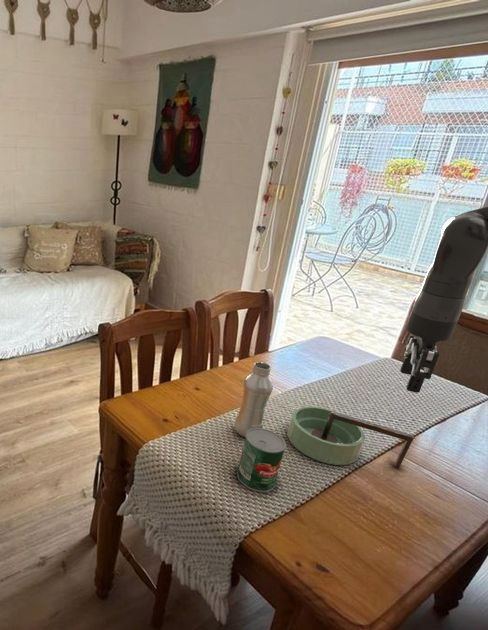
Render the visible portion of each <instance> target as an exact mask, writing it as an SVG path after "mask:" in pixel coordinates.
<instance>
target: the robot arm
mask: <svg viewBox="0 0 488 630" xmlns="http://www.w3.org/2000/svg"><path fill="white" fill-rule="evenodd" d="M440 234H441V235H440V239H439V243H438V246H437V249H436V251H435V255H434V258H433V262H432V264H431V265H430V267H429V268H428V270H427V272H426V275H425V276H424V280H423V282H422V286H421V289H420V291H419V293H418V294H417V296H416V298H415V300H414V303H413V306H412V309H411V312H410V314H409V317H408V320H407V323H406V326H405V330H406V331H407V332H408V333H409V334H408V337H407V340H406V342H405V346H404V347H403V351H404V353H403V356H404V358H403V361H402V364H401V367H400V370H399V371H400V373H401V374H403V375H409V379H408V381H407V384H406V387H405V388H406V391H408V392H411V393H415V394H416V393H417V394H418V393H420V391H421V390H422V387H423V384H424V382H425V380H431V378H432V375H433V373H434V369H435V367H436V364H437V362H438V359H439V357H440V352H439V351H438V347H437V343H439V342H447V341H450V340H451V338H452V336H453V334H454V331H455V328H456V326H457V324H458V321H459V319H460V316H461V314H462V312H463V310H464V306H465V301H466V297H467V296H468V293H469V290H470V288H471V285H472V282H473V279H474V276H475V272H476V270H477V269H478V267H479V266H480V264H481V262H482V260H483V258H484V256H485V254H486V252H487V251H488V206H484V207H480V208H476V209H471V210H468V211H465V212H462V213H459V214H457V215H454V216H451V218H449V219H448V220H447V221H446V222H445V223H444V224H443V226H442V228H441V233H440ZM422 368H423V371H422Z"/></svg>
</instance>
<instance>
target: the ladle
mask: <svg viewBox="0 0 488 630" xmlns="http://www.w3.org/2000/svg"><path fill="white" fill-rule="evenodd" d="M337 412H338V411H336V412H331V413H330V415H329V418H328V420H327V423H326V426H325V428H324V430H322V429H315V430H313V431H312V433H311V434H312V435H313V436H316V437H318V438H320V439H322V440H325V441H329V442H332V443H337V438H336V437H335V436H334V435H333V434H332V433H330V429H331V426H332V424H333V421H334V419H336V420H339V421H343V422H346V423H349V424H353V425H356V426H359V427H361V428H362V429H366V430H370V431H373V432H376V433H379V434H383V435H385V436H386V435H387V436H390V437H393V438H396V439H400V440H403V441H404V443H403V444H402V447H401V449H400V451H399V454H398V455H397V458H396V460H395V462H394V468H396V469H400V468H401V465H402V463H403V461H404V459H405V457H406V455H407V454H408V452H409V449H410V447H411V444H412V443H413V441H414V434H411V433H408V432H405V431H401V430H397V429H395V428H391V427H387V426H384V425H381V424H377V423H375V422H371V421H367V420H364V419H360V418H357V417H353V416H350V415H347V414H343V413H341V412H338V413H337ZM340 413H341V414H340Z"/></svg>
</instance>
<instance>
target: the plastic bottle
mask: <svg viewBox="0 0 488 630" xmlns="http://www.w3.org/2000/svg"><path fill="white" fill-rule="evenodd" d="M271 367H272V366H271V365H270V364H268V363H266V362H262V361H256V362H254V364H253V368H252V372H251V373H249V375H247V376H246V377H245V378H244V381H243V391H242V392H243V393H242V400H241V404H240V408H239V410H238V413H237V415H236V416H235V417H236V418H235V419H234V429H235V431H236V432H237V434H238V435H240V436H241V437H243V438H246V433H247V431H249V430H250V429H254V428H262V429H264V415H265V410H266V407H267V404H268V401H269V399H270V397H271V395H272V392H273V391H274V384H273V382H272V379H271V378H270V375H271V370H272V369H271Z"/></svg>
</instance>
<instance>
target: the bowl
mask: <svg viewBox="0 0 488 630" xmlns="http://www.w3.org/2000/svg"><path fill="white" fill-rule="evenodd" d="M331 412H337V413H340V414H342V413H341V412H338V411H336V410H334V409H330V408H326V407H322V406H314V405H306V406H300V407H297V408H295V410H293V412H292V413H291V417H290V421H289V424H288V428H287V433H286V434H287V438H288V440H289V442H290V444H292V446H293V447H294V448H295V449H296V450H298V451H299V452H300V453H302V454H304V455H305V456H307V457H309V458H311V459H313V460H316V461H318V462H321V463H325V464H328V465H335V466H347V465H351V464H353V463H355V462H357V459H358V458H359V457H360V454H361V450H362V448H363V445H364V442H365V441H366V435H365V434H366V433H365V431H364V430H363V427H359V426H356V425H353V424H349V423H346V422H343V421H339V420H336V419H334V421H333V424H332V426H331V429H330V433H332V434H333V435H334V436H335V437H336V438H337V443H332V442H329V441H325V440H322V439H320V438H318V437H316V436H313V435H312V434H311V433H312V431H313V430H315V429H322V430H324V428H325V426H326V423H327V420H328V418H329V415H330V413H331Z"/></svg>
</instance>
